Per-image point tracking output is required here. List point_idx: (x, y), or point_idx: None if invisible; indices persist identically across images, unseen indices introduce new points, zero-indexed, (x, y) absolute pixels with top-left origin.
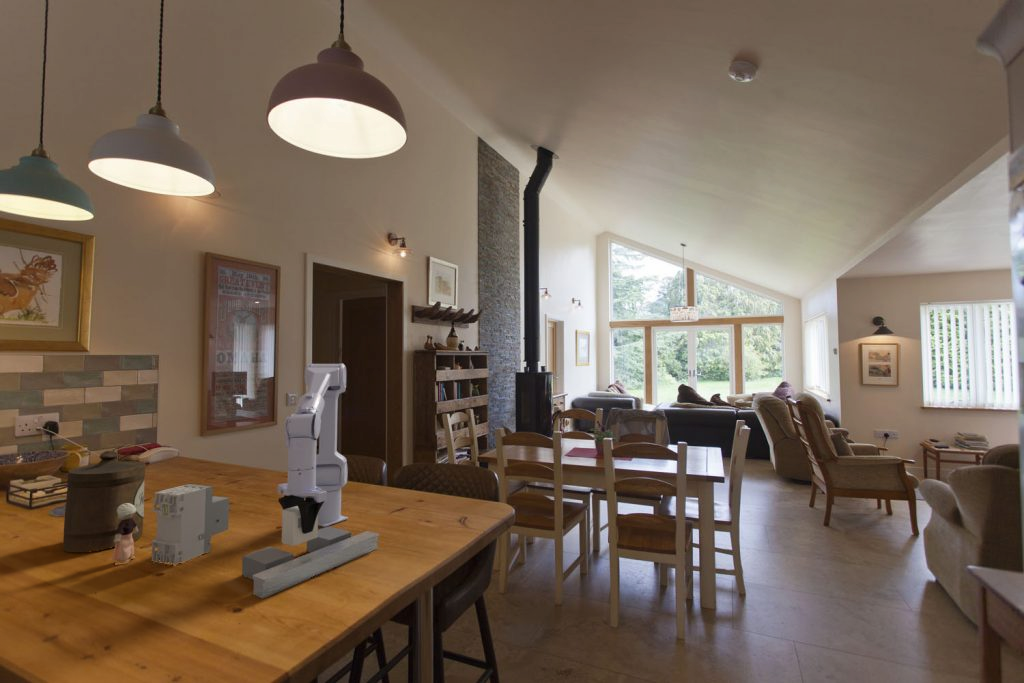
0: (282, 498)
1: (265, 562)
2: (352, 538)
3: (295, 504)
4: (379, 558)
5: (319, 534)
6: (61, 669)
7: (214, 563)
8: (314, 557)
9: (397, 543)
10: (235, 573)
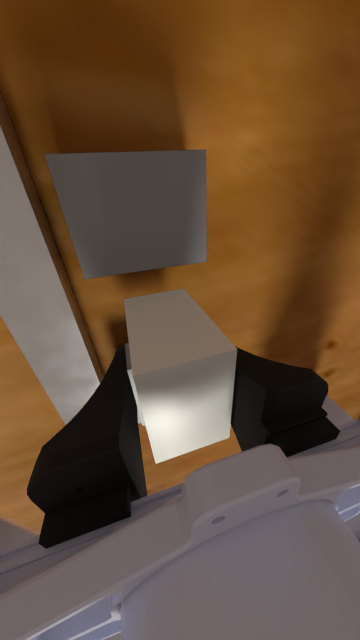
0: (306, 397)
1: (65, 166)
2: None
3: (238, 409)
4: (37, 416)
5: None
6: None
7: (315, 164)
8: (23, 315)
9: None
10: (215, 162)
